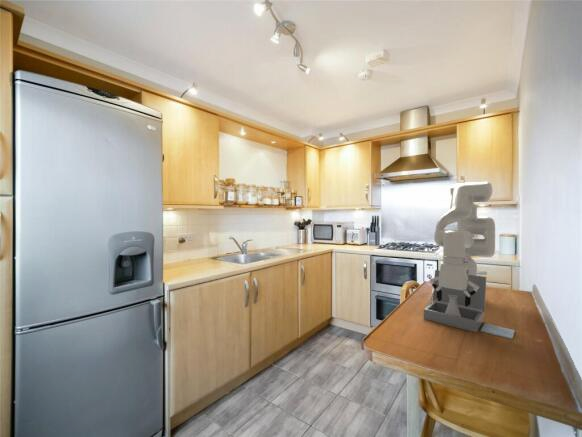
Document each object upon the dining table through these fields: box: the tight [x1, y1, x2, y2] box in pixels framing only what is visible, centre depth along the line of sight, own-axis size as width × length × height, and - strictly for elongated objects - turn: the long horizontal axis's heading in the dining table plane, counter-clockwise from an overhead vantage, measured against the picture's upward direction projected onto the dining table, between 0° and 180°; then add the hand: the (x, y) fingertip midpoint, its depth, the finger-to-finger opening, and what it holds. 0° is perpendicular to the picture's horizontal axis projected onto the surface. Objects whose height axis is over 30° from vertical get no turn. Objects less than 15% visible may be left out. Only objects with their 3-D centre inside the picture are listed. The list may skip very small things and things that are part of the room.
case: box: [423, 300, 484, 333], centre depth 108 cm, size 15×18×5 cm
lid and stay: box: [427, 269, 487, 313], centre depth 112 cm, size 9×19×15 cm, turn 46°
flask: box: [445, 295, 461, 317], centre depth 107 cm, size 7×7×10 cm
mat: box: [480, 323, 516, 340], centre depth 97 cm, size 9×9×1 cm
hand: (452, 303), depth 107 cm, fingers open, 9 cm apart
